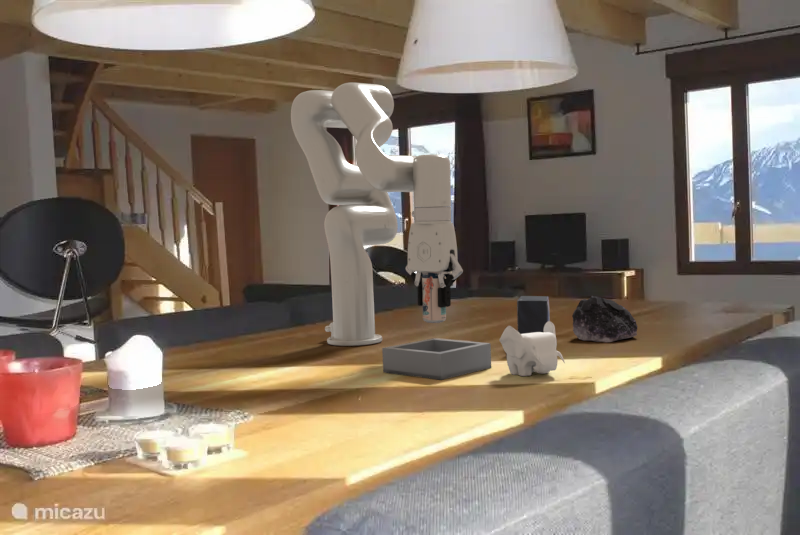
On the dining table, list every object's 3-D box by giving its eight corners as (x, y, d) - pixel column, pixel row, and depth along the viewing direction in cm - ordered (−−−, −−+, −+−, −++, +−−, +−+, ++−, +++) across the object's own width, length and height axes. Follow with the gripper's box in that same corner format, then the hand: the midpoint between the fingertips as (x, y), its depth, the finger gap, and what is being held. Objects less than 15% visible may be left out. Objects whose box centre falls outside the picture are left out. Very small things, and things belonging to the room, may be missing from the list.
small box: (549, 351, 176) (547, 299, 175) (517, 351, 177) (515, 300, 176) (551, 343, 186) (549, 294, 185) (520, 343, 187) (518, 295, 187)
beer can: (421, 320, 179) (420, 262, 178) (444, 319, 179) (443, 261, 178) (424, 323, 174) (423, 264, 173) (447, 322, 174) (446, 263, 173)
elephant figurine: (532, 383, 143) (530, 329, 142) (491, 373, 153) (490, 323, 153) (578, 376, 147) (576, 324, 147) (535, 367, 158) (534, 318, 157)
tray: (383, 372, 158) (382, 347, 158) (433, 361, 168) (433, 338, 168) (441, 379, 148) (440, 353, 148) (491, 367, 159) (490, 343, 158)
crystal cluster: (648, 343, 186) (649, 297, 186) (591, 342, 182) (592, 295, 183) (616, 340, 199) (617, 297, 199) (563, 339, 195) (563, 295, 196)
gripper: (389, 216, 178) (391, 305, 179) (452, 216, 166) (454, 310, 168) (414, 215, 183) (415, 301, 185) (477, 215, 172) (478, 306, 173)
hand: (434, 304), depth 176 cm, fingers closed on beer can, 4 cm apart
